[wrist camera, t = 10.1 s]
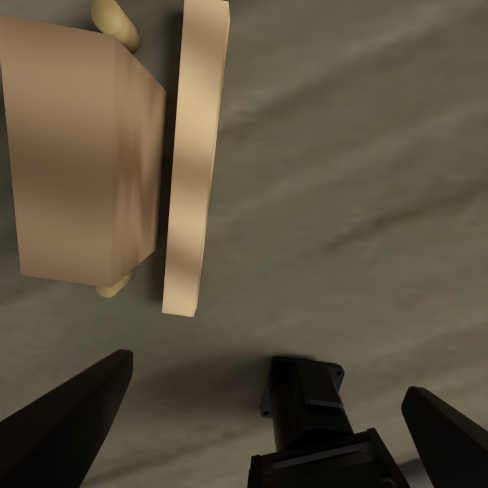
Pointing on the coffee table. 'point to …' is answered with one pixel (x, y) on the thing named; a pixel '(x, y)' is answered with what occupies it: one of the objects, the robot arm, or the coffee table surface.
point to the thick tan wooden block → (81, 151)
